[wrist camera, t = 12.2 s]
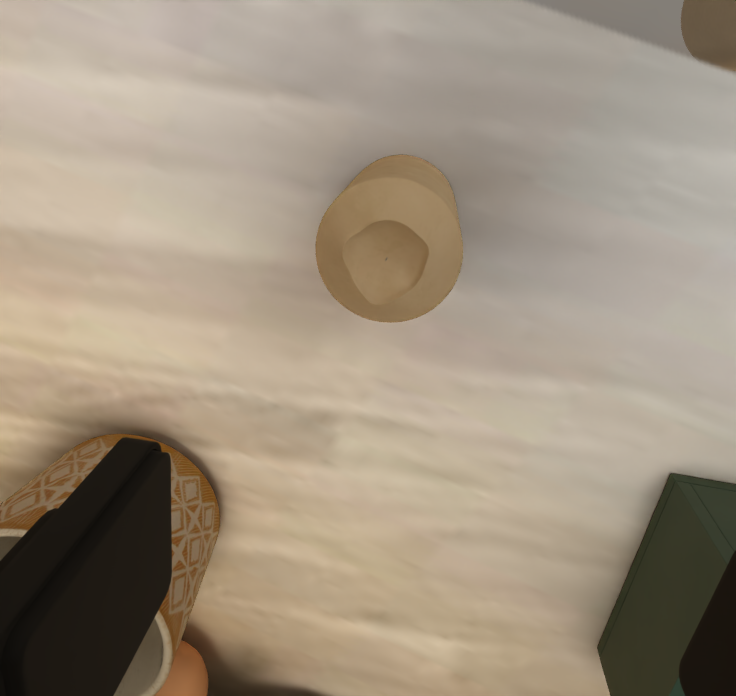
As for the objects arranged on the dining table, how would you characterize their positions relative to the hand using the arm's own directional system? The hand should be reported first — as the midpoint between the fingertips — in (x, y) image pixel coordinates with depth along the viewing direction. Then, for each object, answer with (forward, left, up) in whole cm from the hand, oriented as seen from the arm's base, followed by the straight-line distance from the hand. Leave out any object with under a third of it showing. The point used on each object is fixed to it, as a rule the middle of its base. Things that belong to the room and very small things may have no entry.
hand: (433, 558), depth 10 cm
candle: (0, -2, -23) cm, 23 cm away
